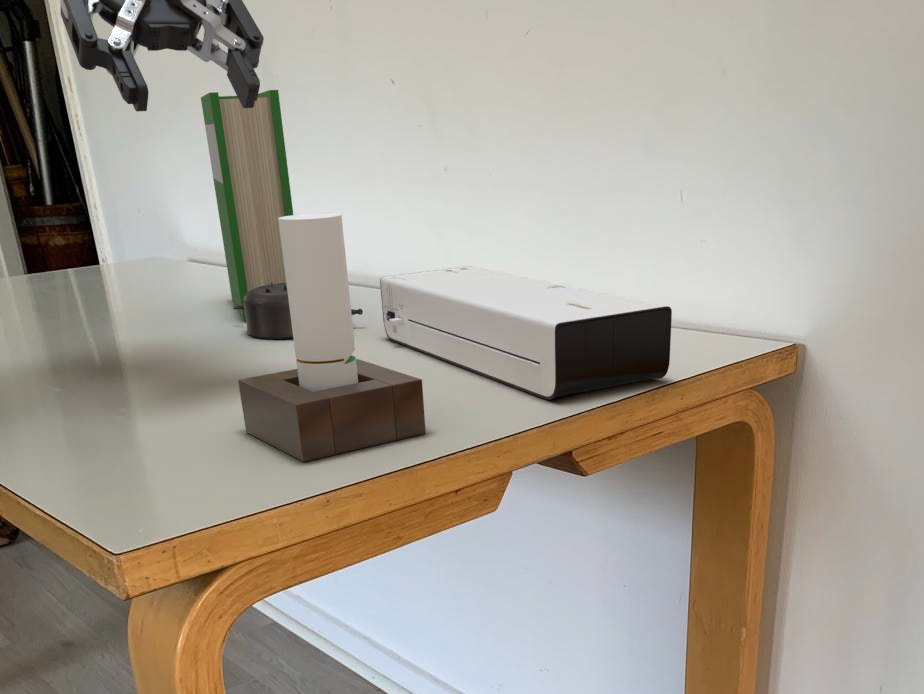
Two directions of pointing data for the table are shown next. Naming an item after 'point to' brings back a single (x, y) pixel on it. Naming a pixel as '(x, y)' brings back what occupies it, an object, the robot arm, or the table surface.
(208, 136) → the hardback book
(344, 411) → the socket block
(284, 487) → the table surface
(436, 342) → the laminator
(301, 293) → the tube
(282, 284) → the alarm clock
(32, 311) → the table surface
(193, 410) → the table surface
